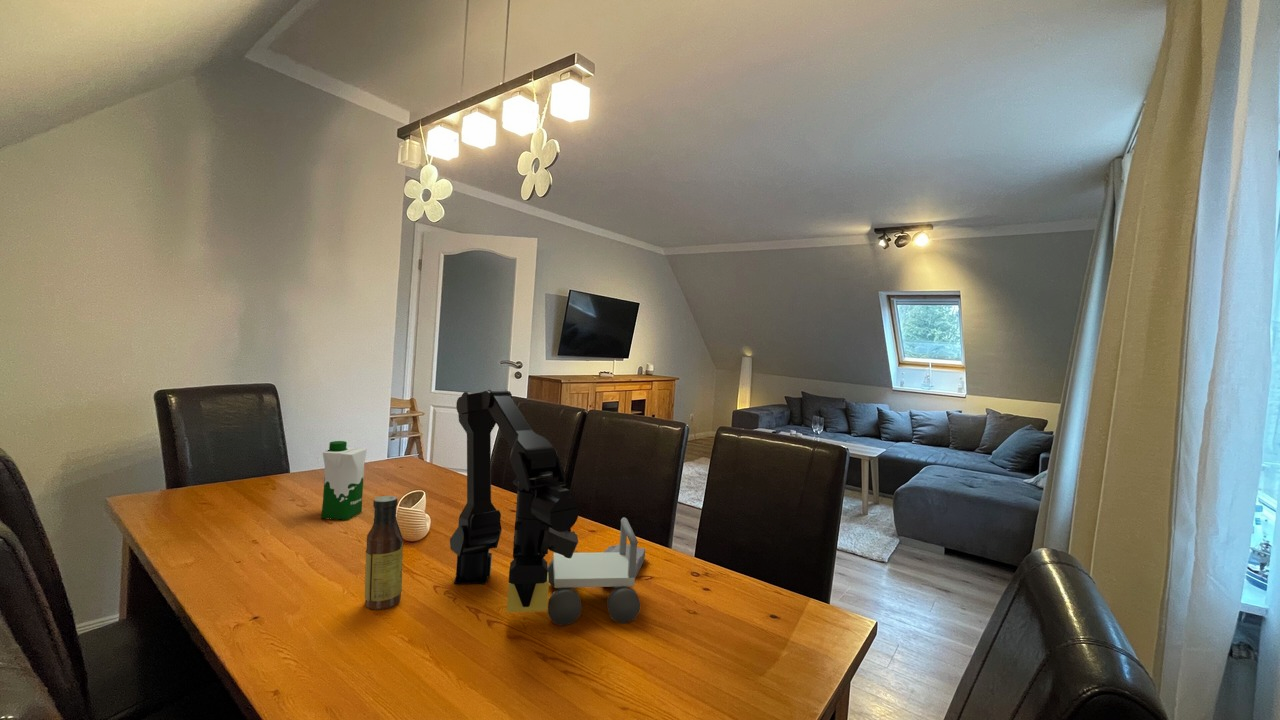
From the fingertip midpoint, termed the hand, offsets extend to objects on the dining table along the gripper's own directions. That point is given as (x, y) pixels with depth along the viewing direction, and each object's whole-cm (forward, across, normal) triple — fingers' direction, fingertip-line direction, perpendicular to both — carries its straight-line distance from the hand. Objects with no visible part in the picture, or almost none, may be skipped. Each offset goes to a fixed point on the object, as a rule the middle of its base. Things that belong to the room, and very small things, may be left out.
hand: (526, 599), depth 93 cm
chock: (+1, 0, 0) cm, 1 cm away
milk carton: (+5, +58, +51) cm, 77 cm away
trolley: (+4, +7, -12) cm, 15 cm away
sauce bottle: (+5, +9, +27) cm, 28 cm away
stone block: (+5, +24, -21) cm, 32 cm away
